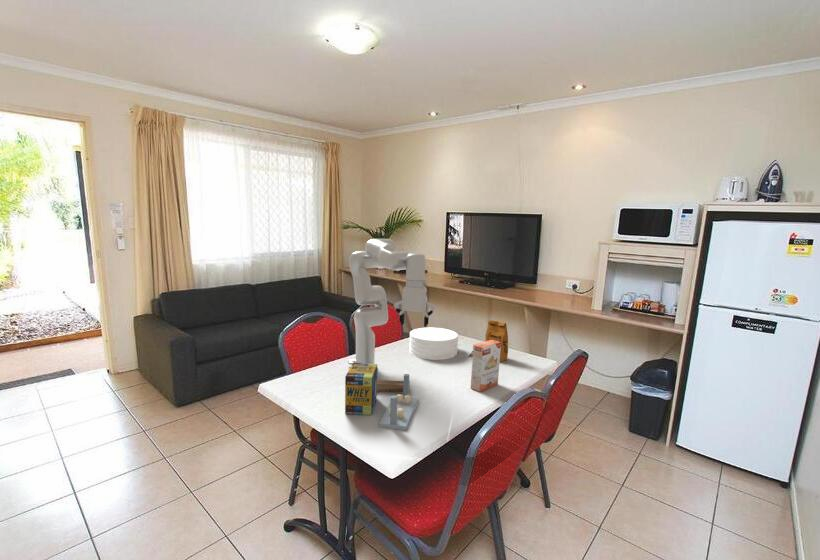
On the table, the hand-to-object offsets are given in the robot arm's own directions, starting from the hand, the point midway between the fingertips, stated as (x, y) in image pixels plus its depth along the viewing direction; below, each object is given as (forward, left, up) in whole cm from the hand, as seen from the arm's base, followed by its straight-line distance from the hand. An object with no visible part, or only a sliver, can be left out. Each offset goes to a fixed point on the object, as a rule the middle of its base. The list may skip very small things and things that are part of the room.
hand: (413, 325), depth 158 cm
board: (-11, +7, -33) cm, 35 cm away
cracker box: (+30, +22, -32) cm, 49 cm away
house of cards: (+26, +62, -33) cm, 74 cm away
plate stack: (0, +64, -33) cm, 72 cm away
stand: (-2, -13, -32) cm, 35 cm away
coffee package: (+36, +62, -32) cm, 78 cm away
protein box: (-18, -11, -33) cm, 39 cm away
